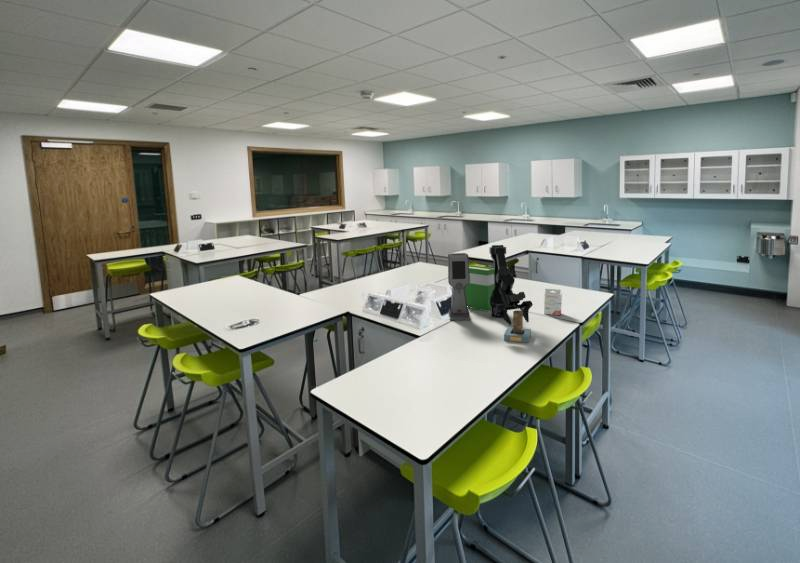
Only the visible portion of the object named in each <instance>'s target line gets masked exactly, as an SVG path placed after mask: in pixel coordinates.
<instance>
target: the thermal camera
mask: <svg viewBox="0 0 800 563" xmlns="http://www.w3.org/2000/svg"><path fill="white" fill-rule="evenodd" d="M469 265H470V261H469V254H468V253H467V252H463V253H462V252H460V253H449V254H447V271H448V272H447V273H448V274H447V278H448V282H447V283H448V284H449V285H450V286H451V306H450V307H449V309H448V318H449V317H450V319H451V320H450V319H449V320H450V321H469V320H471V314H470V310H469V307H467V299H466V286H467V285H468V284H469V283H470V274H469Z"/></svg>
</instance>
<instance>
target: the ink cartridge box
mask: <svg viewBox="0 0 800 563" xmlns="http://www.w3.org/2000/svg"><path fill="white" fill-rule="evenodd" d="M561 292H562V291H561V289H556V288H545V292H544V308H543V311H544V313H543V315H547V314H551V315H550V316H557V315H560V314H562V303H563V302H562V300H563V298H562V297H563V296H562V295H563V293H561ZM560 316H561V315H560Z"/></svg>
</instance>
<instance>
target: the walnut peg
mask: <svg viewBox="0 0 800 563" xmlns="http://www.w3.org/2000/svg"><path fill="white" fill-rule="evenodd" d="M523 319H524V317H523V311H521V310H518V309H516V310H513V312H512V328H513V334H521V335H522V329H524V328H523V326H524V325H523V324H524V323H523V321H524V320H523Z"/></svg>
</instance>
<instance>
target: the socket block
mask: <svg viewBox="0 0 800 563" xmlns="http://www.w3.org/2000/svg"><path fill="white" fill-rule="evenodd" d="M531 335H532V329H531V328H522V335H521V334H513V327H509V326H507V327H506V330H505V332H504V334H503V341H505V342H511V343H521V342H522V343H523V344H529V342H530V338H531Z"/></svg>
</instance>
